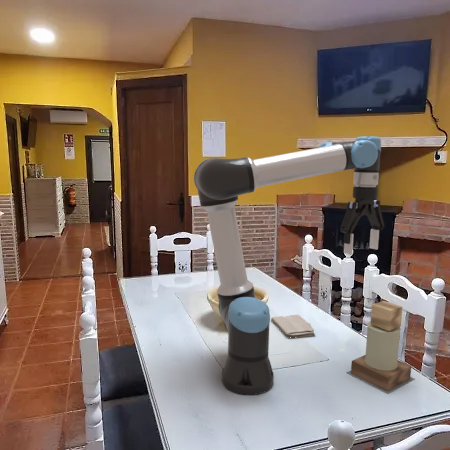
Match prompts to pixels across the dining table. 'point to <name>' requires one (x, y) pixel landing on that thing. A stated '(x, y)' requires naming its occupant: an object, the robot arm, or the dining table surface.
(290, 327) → the washcloth
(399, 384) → the mat
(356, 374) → the slab
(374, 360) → the can
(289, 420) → the dining table surface
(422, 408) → the dining table surface
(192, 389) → the dining table surface
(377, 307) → the cube
